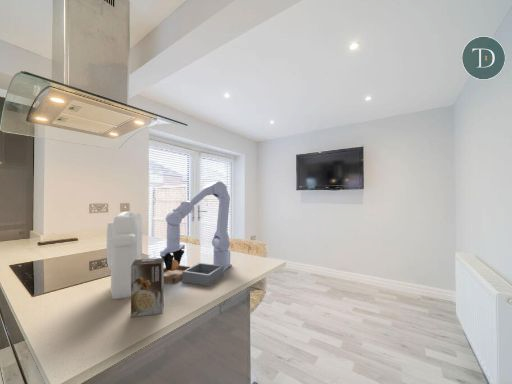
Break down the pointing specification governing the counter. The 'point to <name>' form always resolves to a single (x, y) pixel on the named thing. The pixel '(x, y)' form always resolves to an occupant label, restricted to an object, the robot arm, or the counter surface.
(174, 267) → the ball
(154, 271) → the coffee box
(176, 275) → the tray
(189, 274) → the bin
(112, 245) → the white tall piece
